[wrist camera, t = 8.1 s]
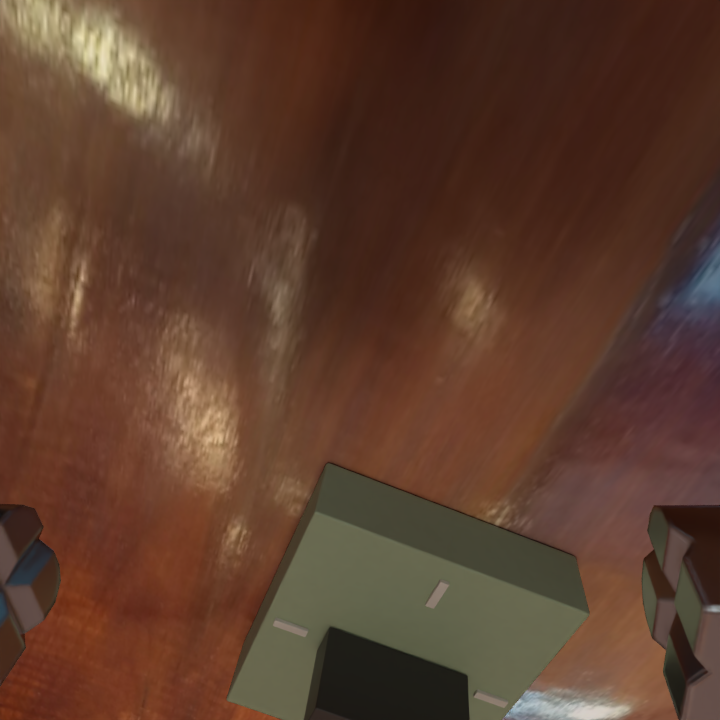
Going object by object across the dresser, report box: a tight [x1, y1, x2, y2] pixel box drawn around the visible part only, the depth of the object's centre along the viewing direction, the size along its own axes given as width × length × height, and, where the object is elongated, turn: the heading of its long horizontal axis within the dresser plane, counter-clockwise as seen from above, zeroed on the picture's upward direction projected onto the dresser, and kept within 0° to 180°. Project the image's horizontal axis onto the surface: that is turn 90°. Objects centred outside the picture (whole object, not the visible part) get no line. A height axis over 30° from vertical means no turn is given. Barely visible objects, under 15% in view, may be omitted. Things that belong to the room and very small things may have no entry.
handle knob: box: [304, 627, 470, 720], centre depth 25 cm, size 6×2×4 cm, turn 69°
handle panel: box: [227, 463, 589, 720], centre depth 28 cm, size 12×11×3 cm
